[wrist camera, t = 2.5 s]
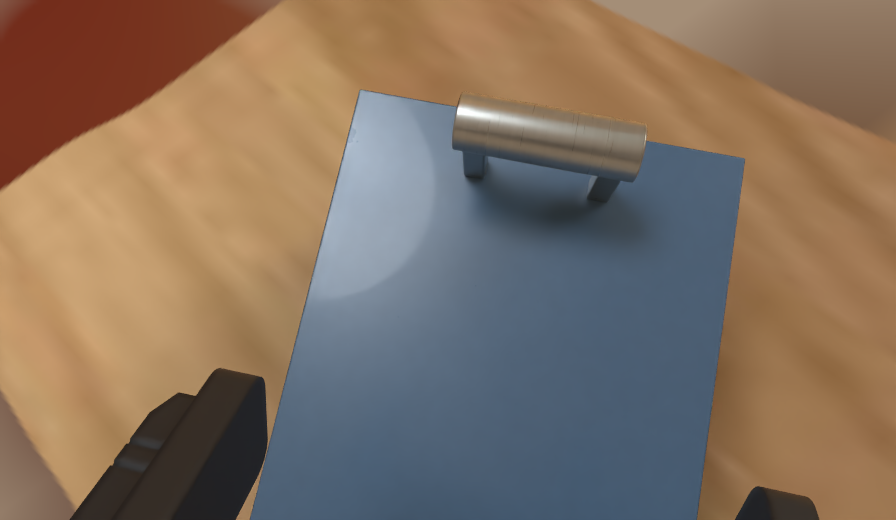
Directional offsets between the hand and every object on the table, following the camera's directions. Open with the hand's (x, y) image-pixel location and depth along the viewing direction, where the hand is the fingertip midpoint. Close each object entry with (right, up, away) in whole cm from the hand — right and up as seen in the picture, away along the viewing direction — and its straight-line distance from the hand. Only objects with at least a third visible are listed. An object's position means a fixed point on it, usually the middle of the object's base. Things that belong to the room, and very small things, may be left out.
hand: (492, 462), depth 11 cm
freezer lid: (+1, 0, +10) cm, 11 cm away
